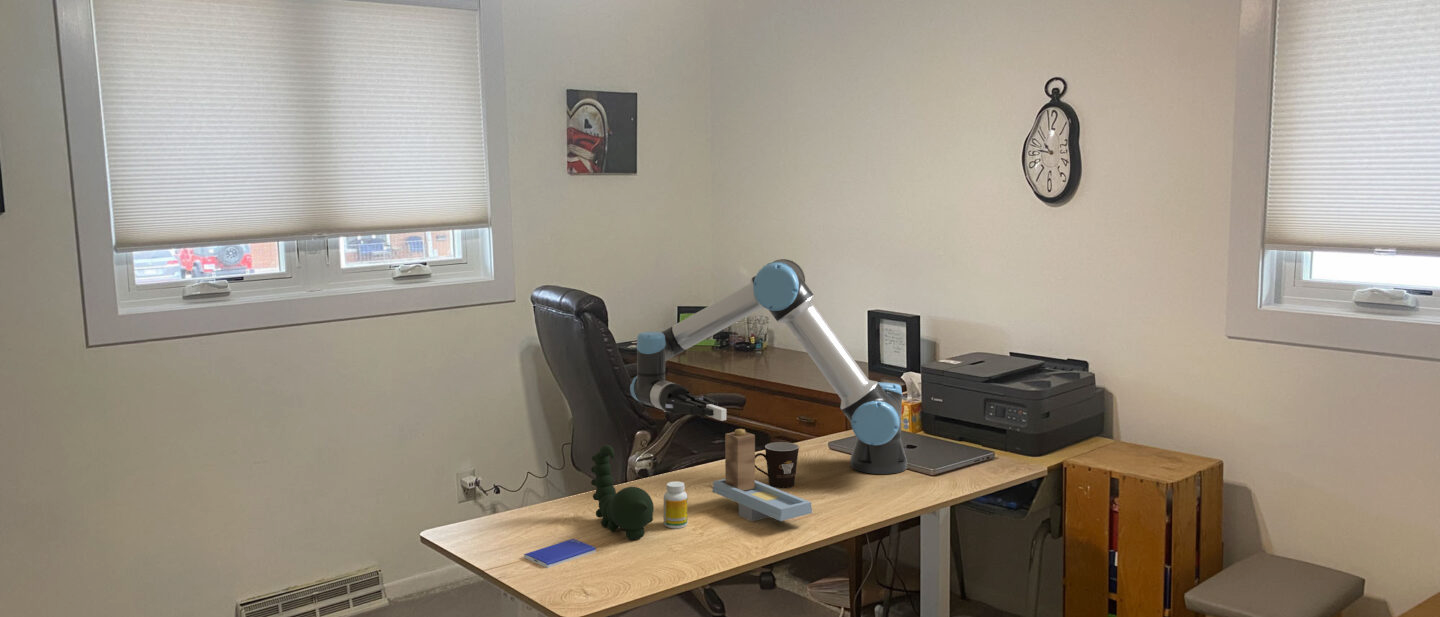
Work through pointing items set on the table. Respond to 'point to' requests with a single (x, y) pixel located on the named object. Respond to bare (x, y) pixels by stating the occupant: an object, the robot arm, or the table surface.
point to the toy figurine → (619, 500)
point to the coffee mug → (780, 463)
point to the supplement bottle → (675, 505)
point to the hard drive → (560, 553)
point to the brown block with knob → (740, 459)
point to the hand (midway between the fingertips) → (723, 414)
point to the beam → (764, 501)
